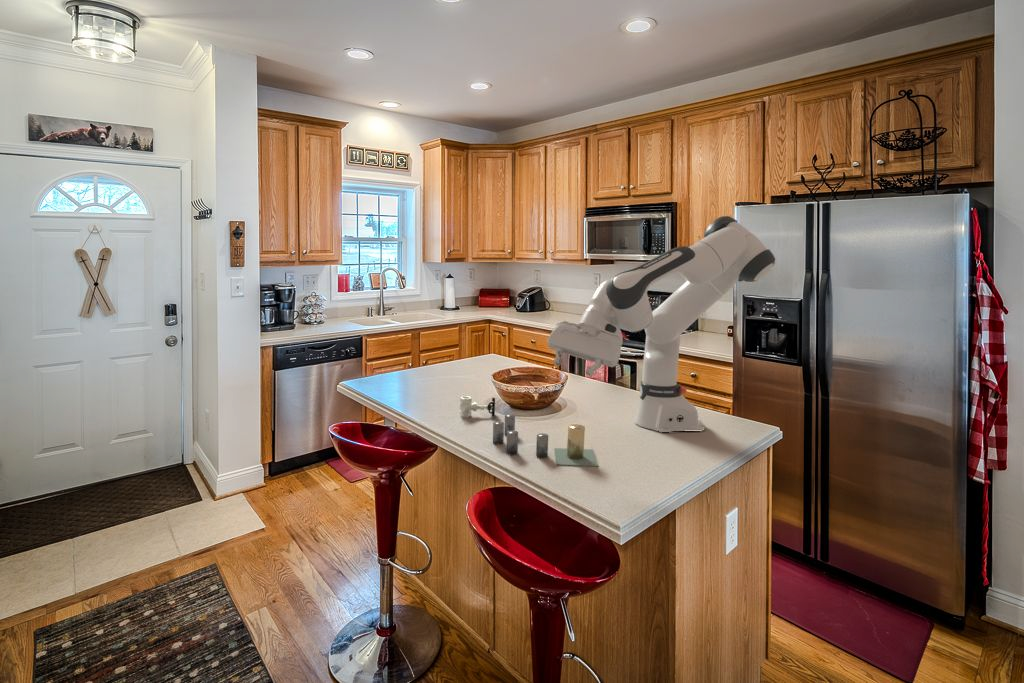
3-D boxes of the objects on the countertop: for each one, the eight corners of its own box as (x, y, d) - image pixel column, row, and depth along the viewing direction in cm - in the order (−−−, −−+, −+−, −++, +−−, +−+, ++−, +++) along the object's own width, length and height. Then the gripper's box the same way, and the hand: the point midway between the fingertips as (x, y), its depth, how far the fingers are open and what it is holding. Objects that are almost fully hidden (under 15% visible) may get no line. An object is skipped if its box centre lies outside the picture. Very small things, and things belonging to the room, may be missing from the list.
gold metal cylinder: (582, 453, 150) (583, 424, 148) (584, 459, 145) (585, 429, 144) (566, 453, 150) (567, 424, 149) (567, 459, 146) (568, 429, 144)
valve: (459, 419, 180) (494, 419, 181) (459, 400, 179) (495, 400, 180) (460, 413, 187) (494, 413, 187) (460, 394, 186) (495, 395, 186)
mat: (592, 450, 154) (592, 449, 153) (598, 466, 142) (598, 465, 142) (554, 449, 154) (554, 448, 154) (556, 465, 142) (556, 464, 142)
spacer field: (511, 431, 168) (512, 413, 167) (549, 457, 147) (550, 436, 147) (483, 435, 164) (483, 417, 163) (518, 462, 143) (519, 441, 142)
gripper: (557, 313, 151) (535, 352, 145) (626, 331, 141) (605, 373, 135) (561, 326, 156) (540, 364, 150) (628, 344, 146) (608, 386, 140)
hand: (572, 368), depth 143 cm, fingers open, 8 cm apart
